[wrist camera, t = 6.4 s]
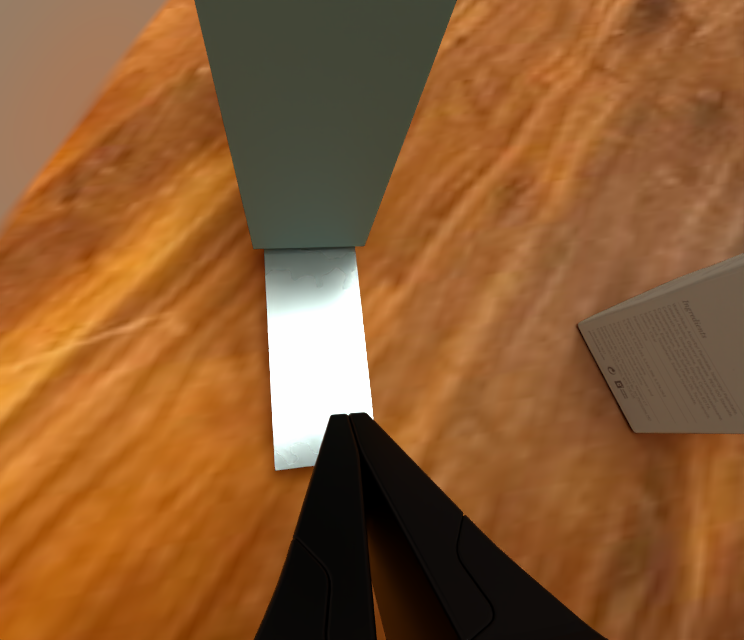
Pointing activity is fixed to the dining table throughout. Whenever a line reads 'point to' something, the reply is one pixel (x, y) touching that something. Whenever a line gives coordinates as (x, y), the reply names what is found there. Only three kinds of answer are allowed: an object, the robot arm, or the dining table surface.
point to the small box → (677, 353)
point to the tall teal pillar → (318, 106)
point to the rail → (313, 347)
